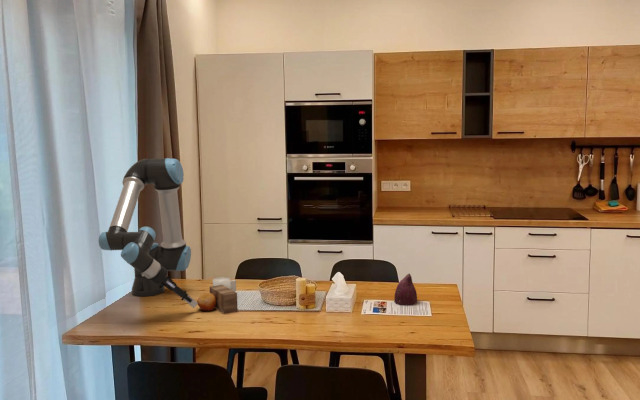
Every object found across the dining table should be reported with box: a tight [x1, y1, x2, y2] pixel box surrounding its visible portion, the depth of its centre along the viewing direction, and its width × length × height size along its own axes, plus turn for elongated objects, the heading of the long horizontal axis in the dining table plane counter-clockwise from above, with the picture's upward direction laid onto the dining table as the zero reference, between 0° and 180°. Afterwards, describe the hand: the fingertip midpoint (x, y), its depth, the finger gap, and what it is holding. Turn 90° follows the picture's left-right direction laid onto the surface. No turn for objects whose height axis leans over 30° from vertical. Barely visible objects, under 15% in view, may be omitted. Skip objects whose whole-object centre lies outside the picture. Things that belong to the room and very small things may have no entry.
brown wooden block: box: [209, 285, 239, 314], centre depth 254 cm, size 16×6×8 cm, turn 32°
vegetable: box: [393, 273, 418, 306], centre depth 256 cm, size 10×10×15 cm
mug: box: [212, 276, 237, 292], centre depth 269 cm, size 8×11×9 cm
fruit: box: [196, 292, 216, 312], centre depth 253 cm, size 8×8×8 cm
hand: (195, 305), depth 249 cm, fingers closed
